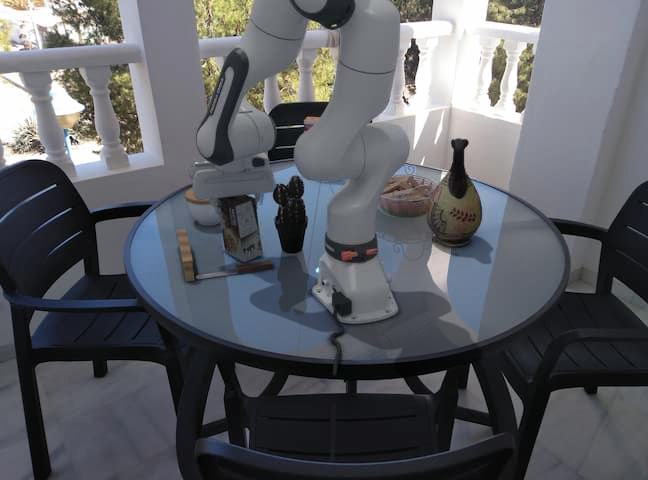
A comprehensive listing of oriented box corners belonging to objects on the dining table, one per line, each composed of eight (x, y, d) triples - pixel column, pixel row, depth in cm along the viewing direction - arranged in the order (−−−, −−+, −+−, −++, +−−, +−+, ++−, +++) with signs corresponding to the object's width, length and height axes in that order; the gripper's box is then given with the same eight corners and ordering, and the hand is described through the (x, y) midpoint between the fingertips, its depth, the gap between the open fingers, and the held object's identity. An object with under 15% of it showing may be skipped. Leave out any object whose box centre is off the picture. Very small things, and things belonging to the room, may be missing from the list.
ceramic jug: (425, 226, 161) (435, 126, 146) (477, 231, 158) (493, 130, 144) (420, 251, 147) (431, 143, 132) (478, 257, 144) (496, 148, 129)
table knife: (273, 268, 137) (272, 263, 136) (196, 280, 131) (195, 274, 130) (271, 264, 138) (270, 259, 138) (195, 276, 133) (194, 270, 132)
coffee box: (263, 254, 142) (256, 198, 134) (243, 263, 139) (235, 206, 130) (243, 243, 148) (235, 189, 140) (224, 251, 144) (214, 196, 136)
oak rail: (195, 280, 131) (192, 260, 128) (185, 281, 130) (182, 261, 128) (188, 247, 146) (185, 228, 143) (179, 248, 145) (176, 229, 143)
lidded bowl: (206, 209, 169) (202, 176, 164) (239, 217, 164) (236, 183, 159) (179, 224, 159) (174, 189, 154) (213, 233, 154) (210, 197, 149)
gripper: (189, 166, 125) (196, 220, 132) (275, 159, 131) (277, 211, 138) (186, 158, 130) (193, 211, 137) (269, 151, 136) (272, 202, 143)
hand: (236, 211), depth 138 cm, fingers closed on coffee box, 8 cm apart
